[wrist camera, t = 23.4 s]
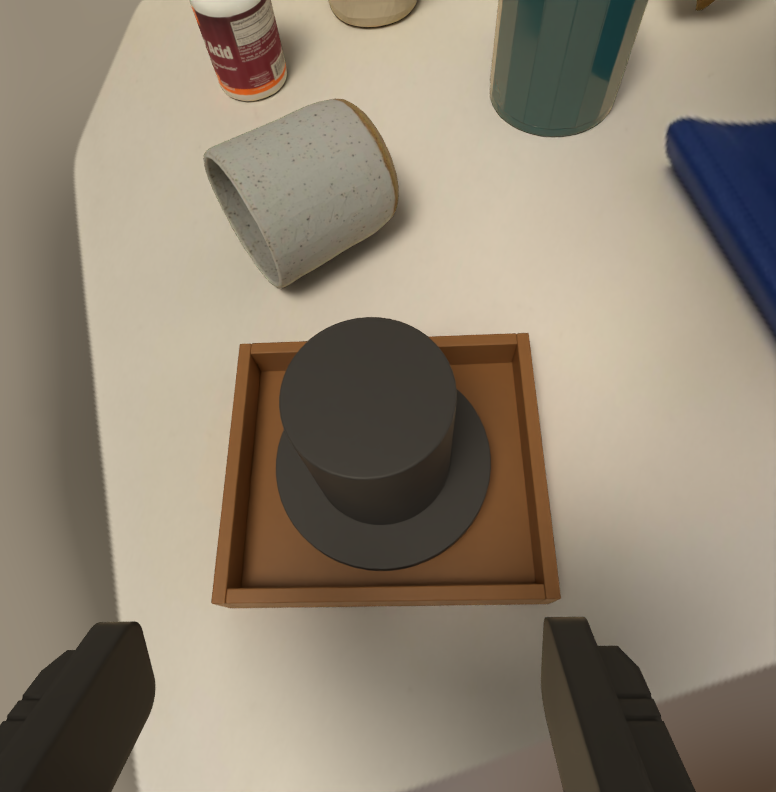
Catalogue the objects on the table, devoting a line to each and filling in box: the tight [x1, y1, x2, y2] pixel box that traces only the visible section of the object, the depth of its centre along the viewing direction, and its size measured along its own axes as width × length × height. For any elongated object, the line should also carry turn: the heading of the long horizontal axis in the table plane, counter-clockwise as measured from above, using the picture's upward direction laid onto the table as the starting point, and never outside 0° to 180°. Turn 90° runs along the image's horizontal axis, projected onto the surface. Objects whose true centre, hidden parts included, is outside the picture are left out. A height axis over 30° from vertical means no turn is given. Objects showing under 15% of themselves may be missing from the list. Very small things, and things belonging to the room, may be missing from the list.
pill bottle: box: [190, 0, 287, 101], centre depth 37 cm, size 5×5×8 cm
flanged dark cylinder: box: [276, 317, 491, 571], centre depth 24 cm, size 10×10×9 cm
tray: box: [211, 333, 561, 608], centre depth 27 cm, size 14×12×2 cm
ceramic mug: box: [203, 99, 399, 288], centre depth 32 cm, size 11×8×8 cm
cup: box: [490, 0, 648, 137], centre depth 34 cm, size 8×8×9 cm
